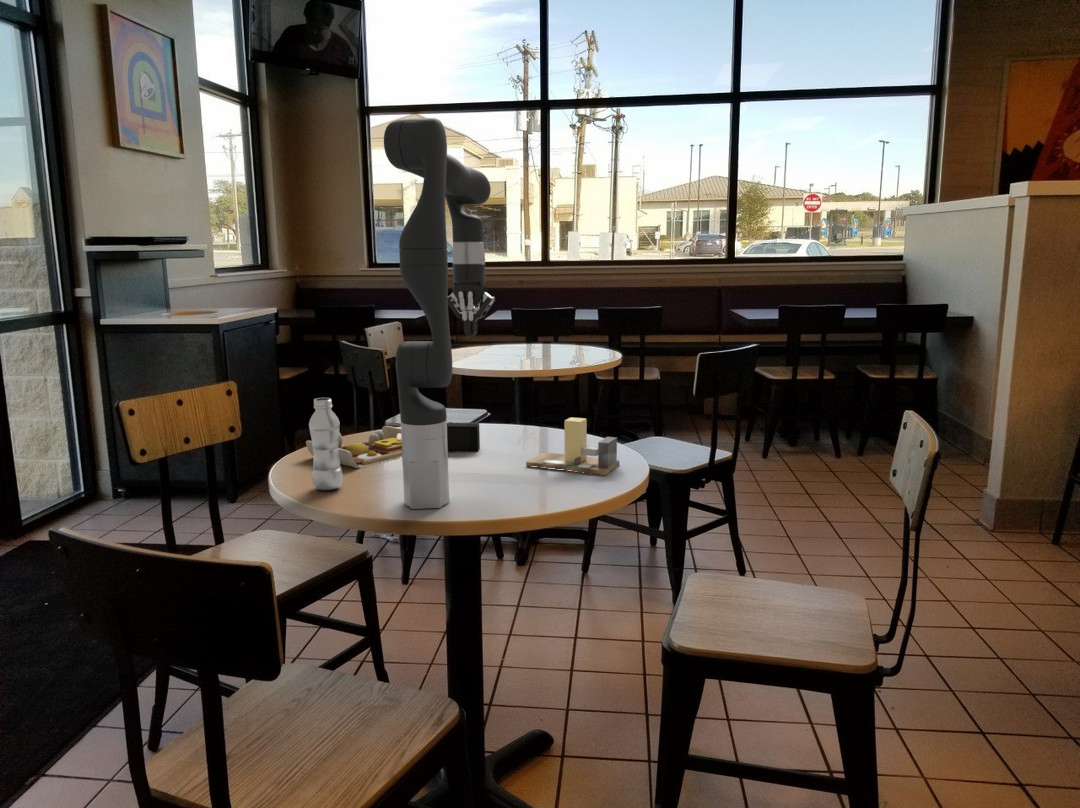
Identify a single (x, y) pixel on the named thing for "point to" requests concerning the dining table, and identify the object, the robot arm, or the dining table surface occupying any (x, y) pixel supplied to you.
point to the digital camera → (463, 437)
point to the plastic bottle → (325, 446)
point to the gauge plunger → (577, 441)
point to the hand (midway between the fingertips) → (470, 336)
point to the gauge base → (590, 465)
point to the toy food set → (369, 448)
